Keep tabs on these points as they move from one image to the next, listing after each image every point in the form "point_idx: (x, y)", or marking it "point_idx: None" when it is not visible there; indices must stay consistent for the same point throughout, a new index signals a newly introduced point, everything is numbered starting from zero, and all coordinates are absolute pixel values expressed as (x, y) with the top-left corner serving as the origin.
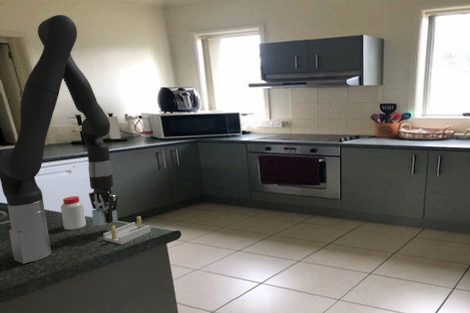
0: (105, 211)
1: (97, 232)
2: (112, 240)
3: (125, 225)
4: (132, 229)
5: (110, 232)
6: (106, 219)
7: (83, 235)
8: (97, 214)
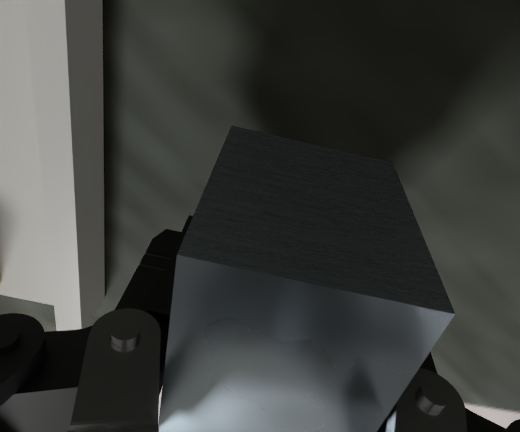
0: (137, 331)
1: None
2: None
3: (69, 263)
4: (6, 237)
5: (31, 56)
6: None
7: (497, 50)
8: (254, 229)
